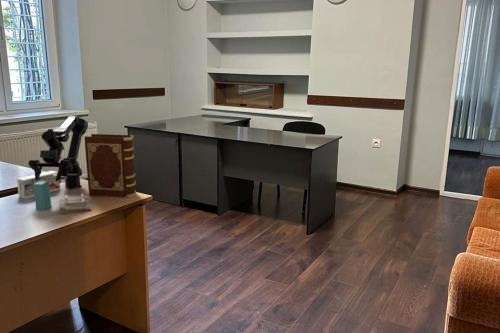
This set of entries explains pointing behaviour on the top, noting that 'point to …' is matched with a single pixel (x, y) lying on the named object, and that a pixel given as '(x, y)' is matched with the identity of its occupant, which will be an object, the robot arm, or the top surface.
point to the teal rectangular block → (42, 195)
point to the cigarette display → (27, 182)
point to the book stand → (74, 205)
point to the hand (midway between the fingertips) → (46, 180)
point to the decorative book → (110, 165)
